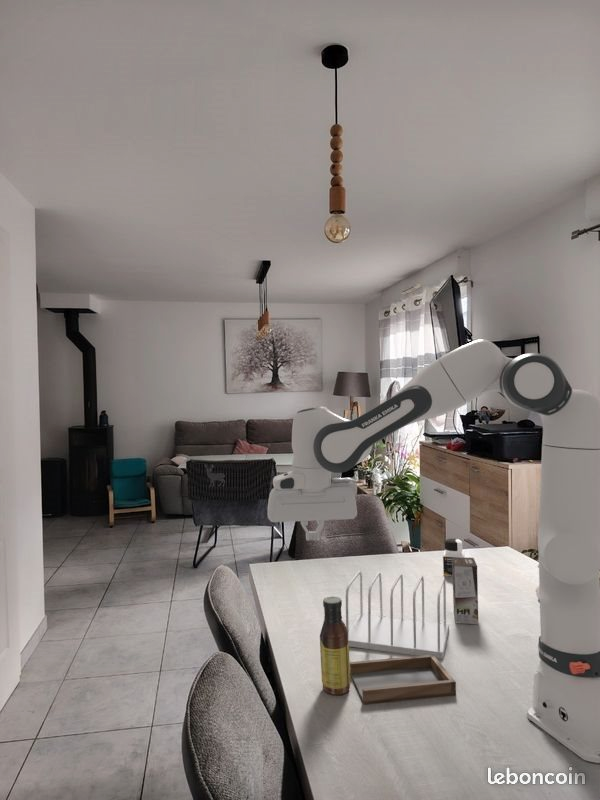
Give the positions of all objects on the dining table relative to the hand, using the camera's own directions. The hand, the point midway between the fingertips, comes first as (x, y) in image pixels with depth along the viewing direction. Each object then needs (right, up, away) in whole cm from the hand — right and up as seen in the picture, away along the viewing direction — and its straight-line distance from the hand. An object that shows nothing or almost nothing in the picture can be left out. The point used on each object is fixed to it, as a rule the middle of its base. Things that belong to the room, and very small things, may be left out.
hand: (312, 539), depth 128 cm
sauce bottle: (+5, -32, -4) cm, 32 cm away
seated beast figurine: (+73, -30, +44) cm, 90 cm away
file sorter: (+23, -31, +21) cm, 44 cm away
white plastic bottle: (+52, -30, +73) cm, 95 cm away
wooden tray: (+19, -31, -3) cm, 37 cm away
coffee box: (+44, -31, +33) cm, 63 cm away
